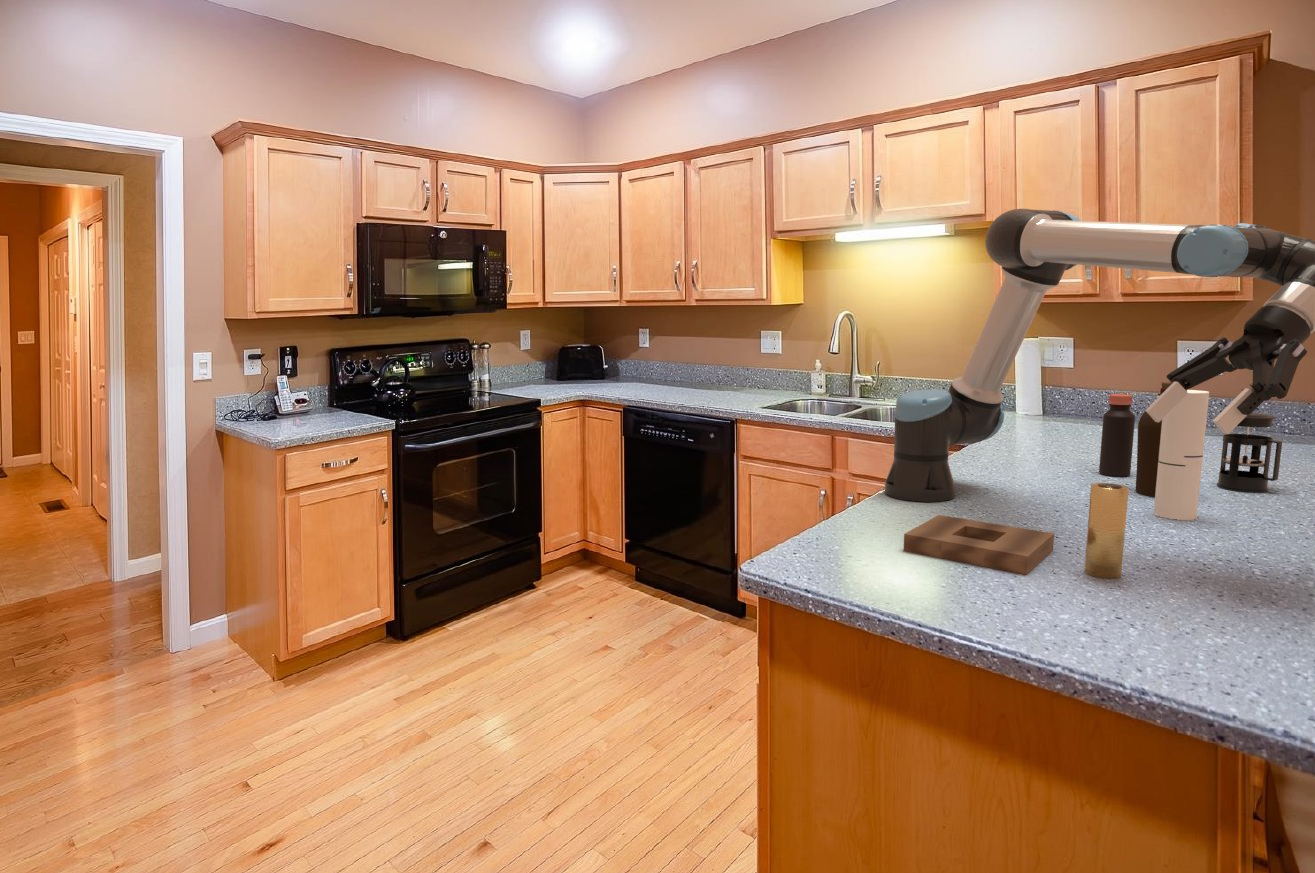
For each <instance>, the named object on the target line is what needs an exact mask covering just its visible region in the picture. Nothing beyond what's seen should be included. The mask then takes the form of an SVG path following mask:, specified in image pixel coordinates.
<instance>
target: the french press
mask: <svg viewBox="0 0 1315 873" xmlns="http://www.w3.org/2000/svg"><path fill="white" fill-rule="evenodd" d="M1247 388H1248V387H1247ZM1244 389H1245V388H1241V389H1240V390H1241V392H1242V391H1243V390H1244ZM1248 389H1251V391H1252V392H1253V391H1254V390H1253V388H1252V387H1249V388H1248ZM1274 419H1276V416H1274V415H1271V414H1264V413H1257V412H1252V413H1251V414H1249V415H1247V416H1246V417H1245V418H1244V419H1243V420H1242V421H1241V422H1240V423H1239V424H1238V425H1237V426H1236V427H1244V428H1247V432H1246V433H1229V434H1224V433H1223V435H1222V441H1223V442H1222V450H1221V459H1220V461H1221V462H1220V470H1219V471H1218V481H1217V483H1216V487H1217V488H1219V489H1223V490H1227V491H1232V492H1233V491H1234V492H1238V493H1247V494H1248V493H1250V494H1251V493H1254V494H1257V493H1260V494H1261V493H1267V492H1268V491H1269V488H1268V485H1269V484H1268V483H1269V482H1270V481H1271V482H1274V481H1278V479H1279V472H1280V465H1281V464H1280V463H1281V458H1282V457H1281V455H1282V448H1283V442H1282V441H1280V440H1274V438H1273V437H1270V436H1265V435H1259V434H1250V428H1271V427H1272V426H1273V420H1274ZM1229 444H1231V450H1230V457H1227V455H1228V449H1229V448H1228V447H1229ZM1273 444H1276V445H1275V454H1274V456H1275V457H1274V462H1273V464H1274V465H1273V473H1272V477H1269V471H1270V462H1271V461H1270V459H1271V453H1272V446H1273ZM1242 446H1245V448H1244V455H1243V456H1242V457H1240V456H1241V448H1242ZM1248 446H1251V454H1250V458H1249V456H1248V454H1247V453H1248ZM1263 446H1265V454H1264V455H1265V456H1264V460H1263V459H1261V454H1262V453H1261V452H1262V451H1261V450H1262V447H1263ZM1226 464H1227V465H1229V468H1228V469H1226ZM1240 466H1241V467H1249V471H1248V470H1240V469H1239V467H1240ZM1261 467H1262V468H1263V473H1260V472H1259V469H1260V468H1261Z"/></svg>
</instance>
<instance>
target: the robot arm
mask: <svg viewBox="0 0 1315 873" xmlns="http://www.w3.org/2000/svg"><path fill="white" fill-rule="evenodd" d="M984 244H985V248H986V252H987V254H988V256H989V258H990V259H991V260H992V261H993V262H994V263H995V264H997V265H999V266H1000V267H1001V268H1000V270H1001V271H1002V274H1003V275H1004V280H1003V282H1002V284H1001V286H1000V288H999V291H998V293H997V296H996V298H995V300H994V302H993V304H992V306H991V309H990V311H989V313H988V315H987V318H986V320H985V323H984V325H983V327H982V330H981V332H980V334H979V337H978V338H977V342H976V343H975V346H974V348H973V350H972V351H971V352H972V353H971V355H970V357H969V360H968V361H967V364H966V366H965V368H964V370H963V374H962V375H961V376H958V377H956V378H954V379H952V381H951V383H950V386H949V388H948V389H947V390H948V391H947V390H944V389H933V388H932V389H923V390H913V391H907V392H905V393H903V394H901V395H899V397H897V399H896V402H895V403H896V404H895V411H894V439H893V440H894V443H893V446H894V447H893V448H894V449H893V461H892V462H891V463H892V464H891V466H890V469H889V472H888V475H887V477H886V479H885V482H884V493H885V495H886V496H888V497H891V498H894V499H899V500H904V501H905V500H906V501H911V502H913V501H914V502H925V503H926V502H927V503H929V502H930V503H931V502H945V501H950V500H953V499H955V496H956V486H955V482H954V478H953V475H952V472H951V468H950V464H949V450H950V449H949V447H950V446H956V445H964V444H976V443H981V442H982V441H986V440H989V439H990V438H992V437H994V436H995V435H996V434H997V433H998V432H999V431H1000V429H1001V428H1002V426H1003V423H1004V419H1005V412H1004V411H1003V409H1004V405H1003V401H1004V395H1003V394H1002V391H1001V389H1002V386H1003V384H1004V382H1005V379H1006V378H1007V375H1008V373H1009V371H1010V369H1011V367H1012V365H1013V363H1014V361H1015V359H1016V356H1017V355H1018V352H1019V350H1020V349H1021V346H1022V343H1023V341H1024V340H1025V337H1026V335H1027V334H1028V331H1029V329H1030V327H1031V325H1032V323H1033V320H1034V319H1035V316H1036V314H1037V312H1038V310H1039V308H1040V305H1041V304H1042V302H1043V300H1044V297H1045V295H1046V293H1047V291H1050V290H1051V289H1053V288H1057V287H1058V286H1059V284H1060V281H1061V280H1062V278H1063V275H1064V273H1065V272H1066V271H1069V270H1070V269H1073V268H1074V267H1075V266H1078V265H1080V266H1088V267H1089V266H1090V267H1092V266H1093V267H1101V268H1102V267H1103V268H1111V269H1112V268H1113V269H1114V268H1115V269H1127V270H1138V271H1139V270H1140V271H1151V272H1161V273H1172V274H1173V273H1174V274H1183V275H1193V276H1196V277H1201V278H1219V277H1227V278H1228V277H1229V278H1254V279H1256V280H1257V279H1258V280H1262V281H1265V282H1269V283H1272V284H1275V285H1279V286H1280V288H1279V289H1277V291H1276V292H1274V293H1273V294H1272V296H1270V298H1269V299H1267V300H1266V301H1265V302H1264V303H1263V306H1261V307H1260V308H1259V309H1257V311H1256V312H1255V313H1253V315H1252V316H1251V317H1250V318H1248V320H1247V321H1246V322H1245V323H1244V326H1243V335H1242V336H1241V337H1239V338H1238V339H1236V340H1235V341H1234V342H1233V341H1229V340H1228V338H1227V337H1224V336H1223V337H1221V338H1219V339H1218V340H1217V341H1216V342H1215V343H1214V344H1212V346H1210V347H1209V348H1207V349H1206V350H1204V351H1203V352H1201V353H1199V354H1198V355H1196V356H1195V357H1193V358H1191V359H1190V360H1188V361H1187V362H1185V363H1183V364H1182V365H1180V366H1179V367H1177V368H1176V369H1174V370H1173V371H1171V372H1169V373H1168V374H1167V375H1166V377H1165V378H1166V379H1168V382H1171V385H1170V386H1169V387H1168V388H1167V389H1166V390H1165V391H1164V392H1163V393H1162V394H1161V395H1159V396H1158V397H1157V398H1155V400H1154V401H1153V402H1152V403H1151V404H1150V405H1149V406H1148V407H1147V408H1146V409H1145V411H1146V412H1147V413H1148V414H1149V415H1150V416H1151V417H1152V418H1153V420H1154V421H1155V422H1160V421H1161V420H1162V419H1163V418H1164V417H1165V416H1166V415H1167V414H1168V413H1169V412H1170V411H1171V410H1172V409H1173V408H1174V407H1175V406H1176V405H1177V404H1178V403H1179V402H1180V401H1181V400H1182V399H1183V398H1184V397H1185V396H1186V395H1187V394H1188V392H1187V390H1191V389H1193V388H1195V387H1196V386H1199V385H1200V384H1203V383H1204V382H1207V381H1209V380H1212V379H1213V378H1215V377H1217V376H1219V375H1221V374H1223V373H1227V372H1228V373H1232V372H1234V371H1236V370H1245V369H1247V370H1249V371H1252V383H1250V384H1249V386H1250V388H1253V390H1254V391H1253V392H1252V391H1251V389H1248V387H1246V388H1245V387H1244V388H1243V389H1244V390H1243V391H1242V390H1241V392H1240V393H1239V394H1238V395H1237V396H1236V397H1235V398H1234V399H1233V400H1232V401H1231V402H1230V403H1229V404H1228V405H1226V407H1225V408H1224V409H1223V410H1222V411H1221V412H1220V413H1219V414H1218V415H1217V416H1216V417H1215V418H1213V419H1212V422H1213V423H1214V425H1215V426H1216V427H1217V428H1218V429H1219V430H1220V431H1221V433H1223V435H1224V434H1231V433H1232V431H1233V430H1234V429H1235V428H1237V427H1238V426H1237V425H1238V424H1239V423H1240V422H1241V421H1242V420H1243V419H1244V418H1245V417H1246V416H1247V415H1249V414H1251V413H1254V411H1255V410H1256V409H1257V408H1259V406H1261V405H1262V404H1263V403H1264V402H1266V401H1267V402H1268V401H1269V400H1271V399H1272V398H1276V399H1278V400H1282V399H1284V398H1285V397H1286V396H1287V395H1288V392H1289V390H1290V387H1291V384H1292V382H1293V380H1294V376H1295V375H1296V374H1295V373H1297V372H1296V371H1297V368H1298V366H1299V364H1300V361H1301V360H1302V359H1303V358H1304V357H1305V356H1306V355H1307V353H1308V350H1307V349H1306V348H1305V347H1304V346H1303V343H1305V341H1306V340H1308V339H1309V338H1310V336H1311V334H1312V333H1314V332H1315V239H1310V238H1305V237H1302V236H1298V235H1294V234H1291V233H1286V232H1284V231H1279V230H1276V229H1272V228H1270V227H1268V226H1265V225H1258V224H1250V223H1246V222H1240V223H1237V224H1235V225H1234V226H1231V225H1228V224H1209V225H1207V224H1204V225H1202V224H1192V225H1191V224H1181V223H1179V224H1176V223H1155V222H1154V223H1153V222H1152V223H1147V222H1127V221H1126V222H1124V221H1122V222H1121V221H1098V220H1097V221H1095V220H1094V221H1093V220H1090V221H1089V220H1081V219H1080V218H1079V217H1077V216H1075V215H1074V214H1071V213H1068V212H1064V211H1060V210H1056V209H1055V210H1054V209H1053V210H1046V209H1044V210H1043V209H1031V208H1017V209H1016V208H1015V209H1010V210H1006V211H1005V212H1003V213H1002V214H1000V215H998V216H997V217H996V218H995V219H994V220H993V221H992V222H991V223H990V225H989V227H988V229H987V232H986V234H985V241H984ZM1227 358H1228V359H1227ZM1145 411H1144V412H1145Z"/></svg>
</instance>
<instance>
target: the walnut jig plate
mask: <svg viewBox="0 0 1315 873" xmlns="http://www.w3.org/2000/svg"><path fill="white" fill-rule="evenodd" d="M1054 542H1055V533H1054V532H1048V531H1042V530H1035V529H1029V528H1022V527H1016V526H1009V525H1004V524H999V523H991V522H985V521H979V520H973V519H966V518H960V517H954V516H948V515H941V514H937V515H936V516H934V517H932V518H931V519H929V520H927V521H925V522H923V523H921V524H920V525H918V526H916V527H914V528H912V529H911V530H909V531H907V532H905V533H904V534H903V551H905V552H909V553H914V554H919V555H925V556H930V557H934V558H940V559H945V560H950V561H953V562H960V563H966V564H971V565H976V566H981V567H987V568H990V569H991V568H992V569H995V570H1001V571H1006V572H1011V573H1016V574H1021V575H1025V576H1026V575H1028V574H1030V572H1031V571H1033V570H1034V568H1035V567H1037V566H1038V565H1039V564H1040V563H1041V562H1042V561H1043V560H1044V559H1046V558H1047V557H1048V555H1050V554H1051V552H1053V551H1054Z"/></svg>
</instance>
